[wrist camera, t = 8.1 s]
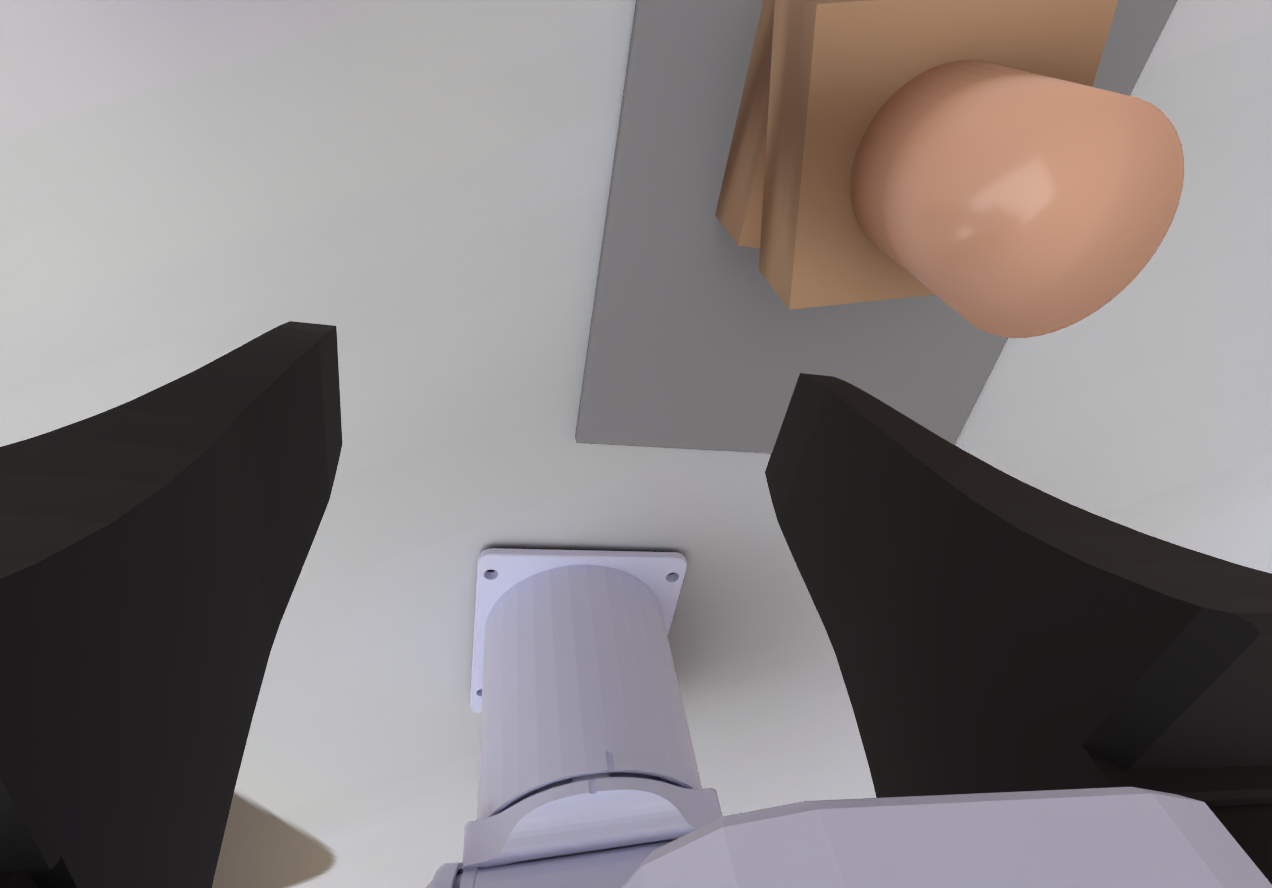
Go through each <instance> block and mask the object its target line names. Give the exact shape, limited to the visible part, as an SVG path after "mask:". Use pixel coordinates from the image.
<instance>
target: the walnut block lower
mask: <svg viewBox="0 0 1272 888" xmlns="http://www.w3.org/2000/svg"><path fill="white" fill-rule="evenodd" d="M774 7H775V0H763V4H762V9H761V13H760V18H759V22H758V27H757V31H756V36H755V40H754V44H753V49H752V53H751V58H750V62H749V67H748V71H747V76H746V80H745V84H744V89H743V93H742V98H741V102H740V107H739V111H738V116H737V120H736V124H735V129H734V133H733V138H732V142H731V147H730V151H729V156H728V160H727V164H726V169H725V173H724V178H723V182H722V187H721V191H720V196H719V200H718V204H717V209H716V213H715V216H716V217H717V218H718V220H719V221H720V222H721V224H722V225H723V226H724V228H725V229H726V230H727V232H728V233H729V234H730V236H731V237H732V238H733V239H734V241H735V242H736V243H737V245H738V246H746V247H754V248H760V240H761V223H762V206H763V190H764V173H765V157H766V140H767V123H768V107H769V90H770V74H771V57H772V40H773V24H774Z"/></svg>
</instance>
